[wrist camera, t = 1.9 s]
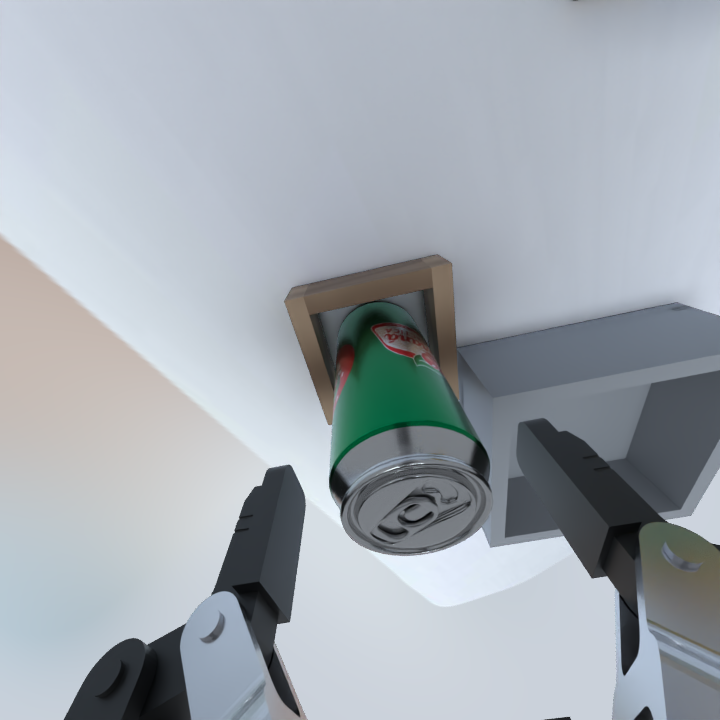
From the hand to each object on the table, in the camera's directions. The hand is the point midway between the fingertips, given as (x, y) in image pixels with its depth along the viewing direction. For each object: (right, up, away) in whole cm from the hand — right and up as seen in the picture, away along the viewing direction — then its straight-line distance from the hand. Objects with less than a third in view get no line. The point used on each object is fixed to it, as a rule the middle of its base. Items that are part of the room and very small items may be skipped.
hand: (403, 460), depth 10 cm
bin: (+13, 0, +12) cm, 18 cm away
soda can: (0, +5, +9) cm, 10 cm away
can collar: (0, +5, +8) cm, 10 cm away
